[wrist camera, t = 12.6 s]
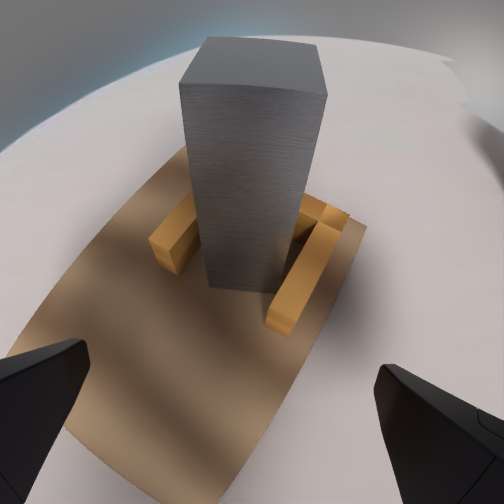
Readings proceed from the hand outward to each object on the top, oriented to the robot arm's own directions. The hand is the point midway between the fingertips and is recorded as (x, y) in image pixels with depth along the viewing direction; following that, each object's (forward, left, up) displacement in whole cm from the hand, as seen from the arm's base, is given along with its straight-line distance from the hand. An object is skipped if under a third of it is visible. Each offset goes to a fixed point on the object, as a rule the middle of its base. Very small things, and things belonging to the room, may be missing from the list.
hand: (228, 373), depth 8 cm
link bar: (+7, +4, -8) cm, 12 cm away
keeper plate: (+3, +6, -9) cm, 11 cm away
